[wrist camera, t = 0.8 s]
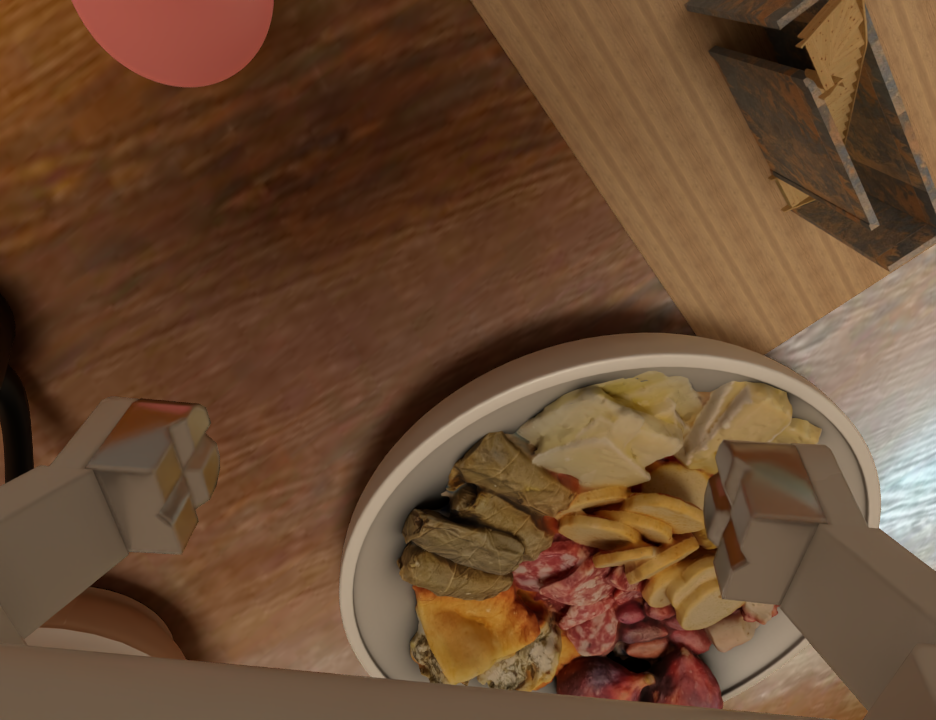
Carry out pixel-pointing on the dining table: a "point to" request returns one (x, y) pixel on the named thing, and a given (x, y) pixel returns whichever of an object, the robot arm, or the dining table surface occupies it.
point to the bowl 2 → (580, 525)
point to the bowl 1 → (107, 627)
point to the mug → (13, 405)
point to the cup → (179, 36)
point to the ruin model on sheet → (745, 142)
